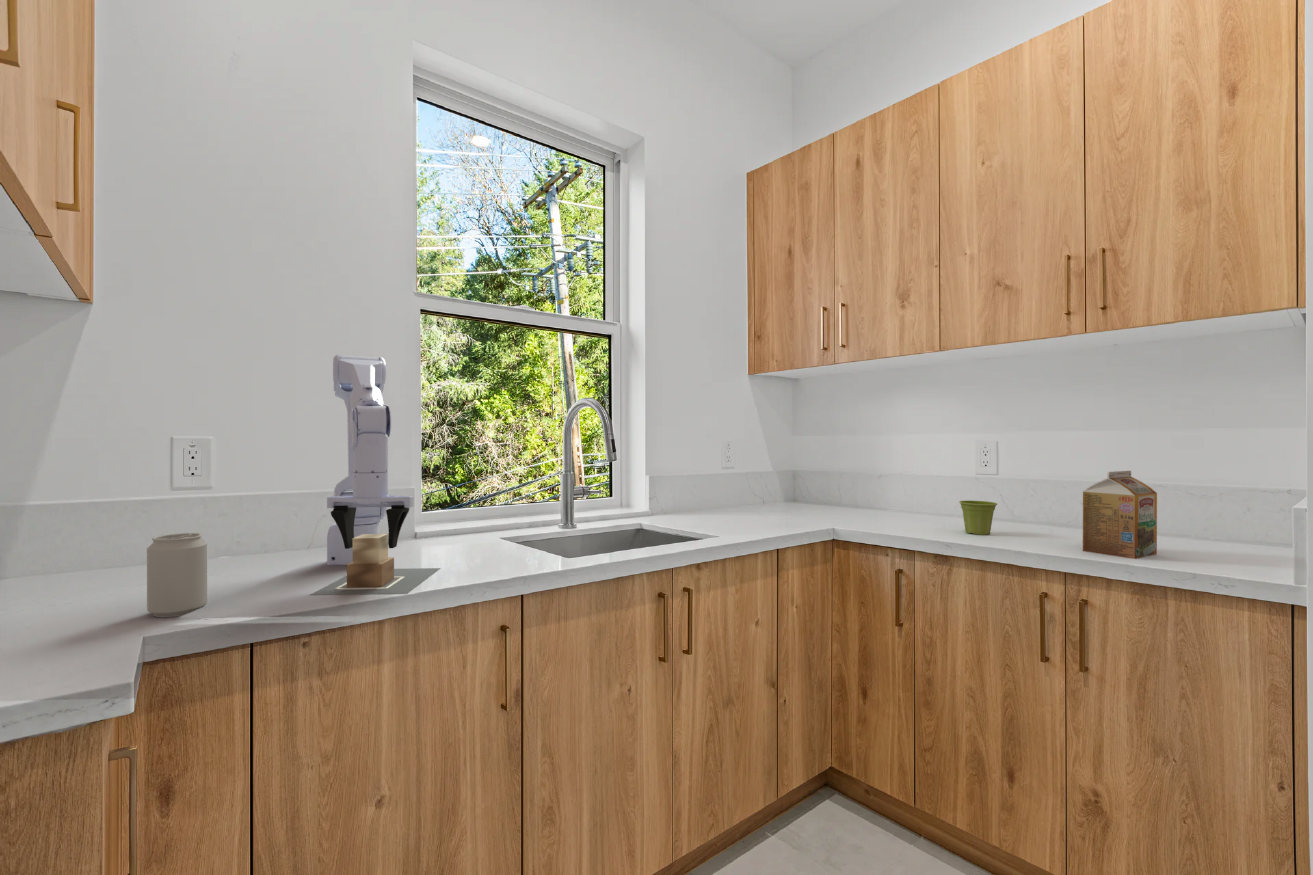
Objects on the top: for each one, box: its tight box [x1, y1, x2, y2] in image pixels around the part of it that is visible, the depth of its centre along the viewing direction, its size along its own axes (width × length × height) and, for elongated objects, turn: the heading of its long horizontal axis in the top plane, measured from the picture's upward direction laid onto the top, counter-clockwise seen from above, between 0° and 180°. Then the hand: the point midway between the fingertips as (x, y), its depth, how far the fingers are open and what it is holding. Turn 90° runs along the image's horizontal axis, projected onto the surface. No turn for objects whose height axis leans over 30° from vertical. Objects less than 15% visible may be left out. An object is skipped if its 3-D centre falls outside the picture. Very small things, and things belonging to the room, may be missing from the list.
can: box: [146, 532, 208, 618], centre depth 98 cm, size 8×8×12 cm
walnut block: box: [346, 556, 395, 587], centre depth 113 cm, size 6×6×4 cm
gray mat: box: [309, 567, 442, 596], centre depth 115 cm, size 16×20×1 cm
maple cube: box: [353, 533, 389, 564], centre depth 113 cm, size 4×4×4 cm
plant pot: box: [958, 500, 998, 536], centre depth 174 cm, size 9×9×9 cm
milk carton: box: [1082, 470, 1158, 560], centre depth 146 cm, size 11×11×19 cm
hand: (371, 547), depth 113 cm, fingers open, 7 cm apart
